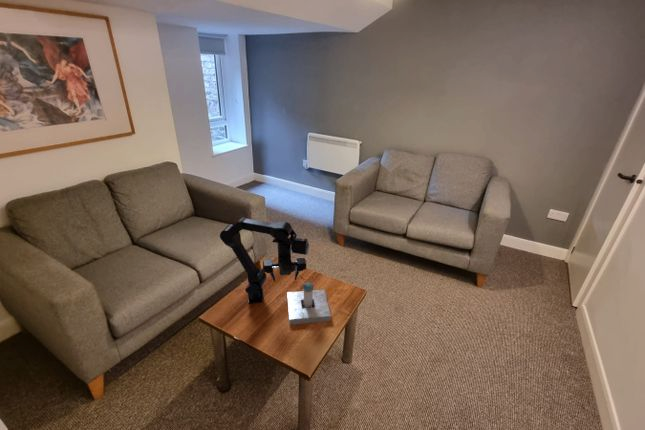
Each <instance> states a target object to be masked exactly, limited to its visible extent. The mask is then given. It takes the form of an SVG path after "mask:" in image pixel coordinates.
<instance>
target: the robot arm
mask: <svg viewBox="0 0 645 430" xmlns="http://www.w3.org/2000/svg"><path fill="white" fill-rule="evenodd" d="M242 230H243V231H249V232H250V231H251V232H256V233H259V234H260V233H261V234H265V235H266V234H267V235H270V236H271V237H272V238H273V239H272V243H277V262H273V259H264V260H263V262H262V268H258V267H257V266H256V264H255V262H254V261H253V259H252V257H251V256H250V254H249V253H248V251H247V249H246V248H245V246H244V245H243V243H242V237H241V233H240V232H241V231H242ZM219 238H220V240H221V241H222V243H224V244H225V246H227V247H229V248H230V249H232V251H233V253H234V255H235V256H236V258H237V260H238V262H240V264H241V266H242V268H243V270H244V271H245V272H246V275H247V276H246V277H247V282H248V285H247V286H246V287H245V293H246V294H247V296H248V297H247V298H248V299H247V300H248V301H247V303H248V304H258V303H263V299H264V288H263V286H264V284H265V283H266V281H267V274H270V276H271V278H272V280H273V282H274V283H275V282H276V276H275V275H276V274H275V270H274V269H275V268H279V275H280V276H290V275H291V274H292V273H294V280H295V281H296V280H297V278H298V276H299V273H300V272H303V271H304V270H307V261H306V258H305V257H299V258H298V257H297V258H296V259H295V261H294V260H293V261H292V254H297V255H305V256H306V255H308V253H309V248H310V243H309V241H308V238H299V237H298V234H297V233H296V231H294V229H293V226H292V225H291V223H290V222H287V221H277V222H267V221H261V220H256V219H252V218H246V217H244V216H243V217H241V218H239V219H238V220H237V221H235V222H234V223H233V224H228V225H226V226H225V228H224V229H222V230H221V231H220V234H219Z"/></svg>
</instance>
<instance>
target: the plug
mask: <svg viewBox="0 0 645 430" xmlns="http://www.w3.org/2000/svg"><path fill="white" fill-rule="evenodd" d="M313 290H314V284H313V283H312V282H305V283H303V285H302V291H304V305H303V309H304V308H313V304H312V298H313Z"/></svg>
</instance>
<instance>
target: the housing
mask: <svg viewBox="0 0 645 430" xmlns="http://www.w3.org/2000/svg"><path fill="white" fill-rule="evenodd" d="M325 290H326V289H315V290H314V289H313V298H312V305H313V307H312V308H304V307H303V306H304V290H302V291H301V290H300V291H287V292H286V298H287V299H286V300H287V312H288V324H289V326H291V325H302V324H313V323H324V322H325V323H327V322H331V321H332V320H331V318H332V314H331V310H330V307H329V303H328V300H327V294H326V291H325ZM302 305H303V306H302Z"/></svg>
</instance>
